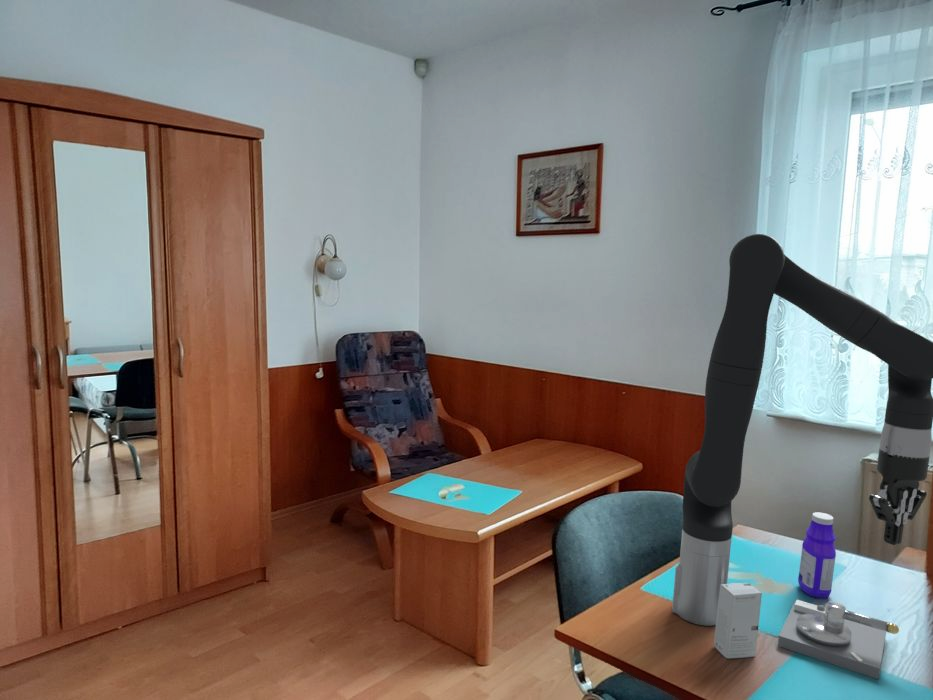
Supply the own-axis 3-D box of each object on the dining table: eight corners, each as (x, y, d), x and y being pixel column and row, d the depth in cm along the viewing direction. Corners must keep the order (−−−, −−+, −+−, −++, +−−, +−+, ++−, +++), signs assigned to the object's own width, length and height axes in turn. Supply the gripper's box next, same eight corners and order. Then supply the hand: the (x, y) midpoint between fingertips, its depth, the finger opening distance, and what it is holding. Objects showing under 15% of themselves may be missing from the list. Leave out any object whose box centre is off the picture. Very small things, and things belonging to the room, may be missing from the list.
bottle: (835, 600, 142) (845, 522, 140) (809, 599, 142) (818, 521, 140) (818, 584, 149) (827, 509, 147) (792, 583, 149) (801, 508, 147)
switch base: (777, 645, 124) (780, 625, 124) (793, 610, 137) (795, 592, 137) (878, 679, 115) (881, 657, 115) (885, 638, 128) (887, 619, 128)
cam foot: (792, 634, 124) (795, 605, 123) (801, 614, 131) (804, 586, 131) (893, 667, 115) (898, 635, 114) (897, 643, 122) (901, 614, 121)
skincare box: (726, 660, 119) (733, 595, 117) (712, 645, 123) (718, 583, 122) (757, 656, 121) (764, 593, 119) (741, 642, 125) (748, 581, 123)
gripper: (906, 441, 125) (895, 530, 127) (859, 447, 119) (848, 539, 122) (949, 452, 118) (936, 546, 121) (901, 459, 113) (888, 557, 115)
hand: (892, 542), depth 121 cm, fingers closed
